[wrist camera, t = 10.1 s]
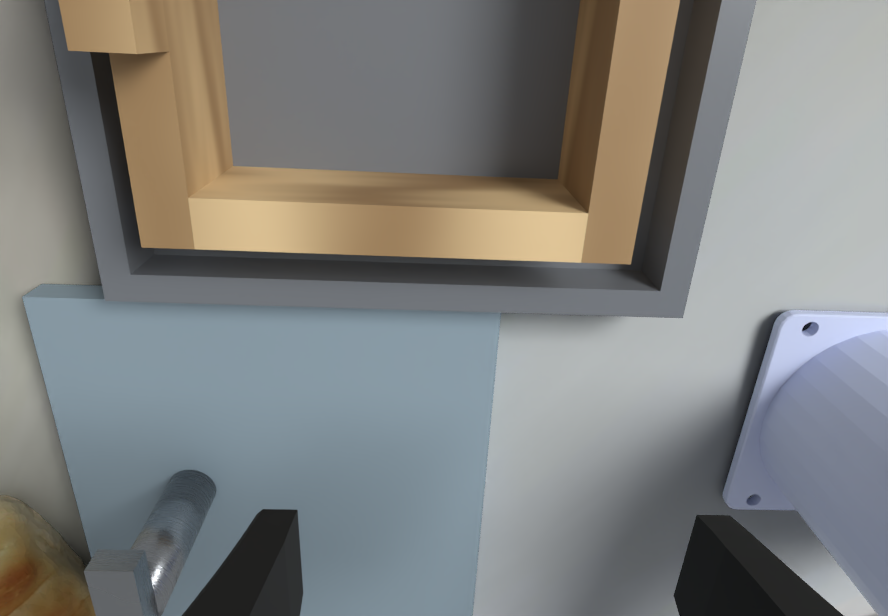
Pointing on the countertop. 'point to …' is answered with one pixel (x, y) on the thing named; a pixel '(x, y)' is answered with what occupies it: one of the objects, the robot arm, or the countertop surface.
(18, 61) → the countertop surface
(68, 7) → the wooden frame
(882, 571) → the robot arm
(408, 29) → the tray
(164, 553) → the stake post
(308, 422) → the stake base
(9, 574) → the pastry
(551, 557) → the countertop surface
